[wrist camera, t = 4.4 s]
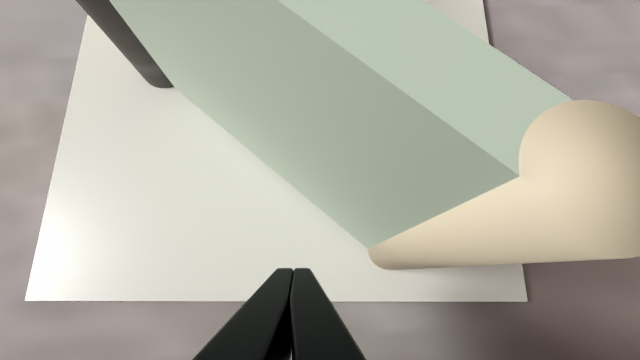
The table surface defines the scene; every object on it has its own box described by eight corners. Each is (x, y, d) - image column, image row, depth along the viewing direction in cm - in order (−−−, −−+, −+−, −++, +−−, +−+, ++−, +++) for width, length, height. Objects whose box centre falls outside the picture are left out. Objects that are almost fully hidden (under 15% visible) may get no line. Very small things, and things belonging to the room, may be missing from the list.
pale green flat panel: (392, 279, 14) (639, 296, 3) (170, 92, 16) (-112, -262, 6) (418, 245, 15) (713, 165, 4) (198, 67, 17) (-16, -309, 6)
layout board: (520, 300, 15) (528, 301, 14) (34, 299, 15) (23, 300, 14) (457, -137, 22) (461, -148, 21) (128, -143, 22) (123, -154, 21)
